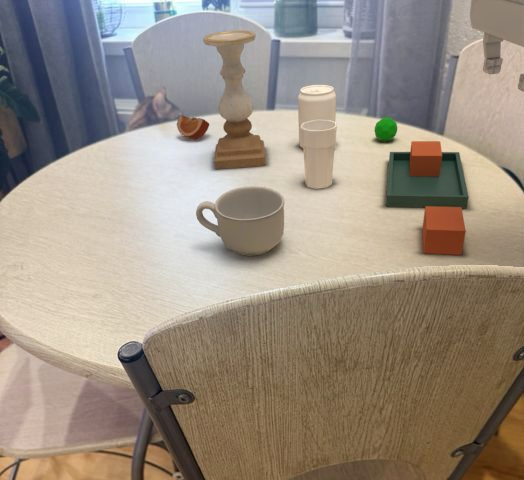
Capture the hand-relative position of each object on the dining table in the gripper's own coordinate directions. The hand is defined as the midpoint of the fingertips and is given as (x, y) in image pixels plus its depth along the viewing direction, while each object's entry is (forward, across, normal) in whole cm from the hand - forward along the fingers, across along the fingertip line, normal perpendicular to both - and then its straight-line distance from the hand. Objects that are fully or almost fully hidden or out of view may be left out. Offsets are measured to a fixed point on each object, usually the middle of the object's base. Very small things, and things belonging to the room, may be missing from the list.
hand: (507, 81), depth 67 cm
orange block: (+23, +3, +4) cm, 24 cm away
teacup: (+24, +9, +35) cm, 43 cm away
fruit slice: (+24, +67, +41) cm, 82 cm away
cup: (+24, +31, +18) cm, 43 cm away
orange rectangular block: (+23, +31, -3) cm, 38 cm away
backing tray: (+23, +25, -2) cm, 34 cm away
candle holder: (+24, +49, +32) cm, 63 cm away
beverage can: (+24, +52, +14) cm, 58 cm away
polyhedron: (+24, +51, -2) cm, 56 cm away
